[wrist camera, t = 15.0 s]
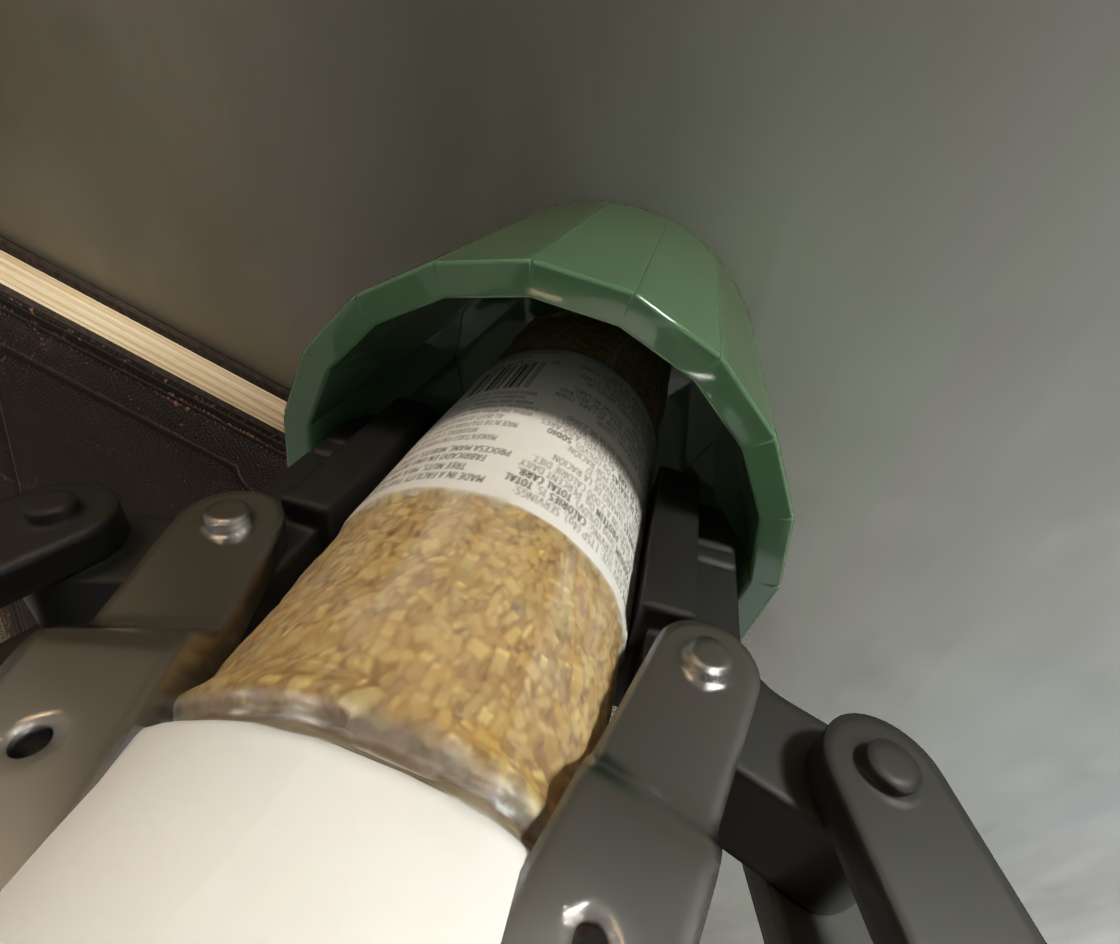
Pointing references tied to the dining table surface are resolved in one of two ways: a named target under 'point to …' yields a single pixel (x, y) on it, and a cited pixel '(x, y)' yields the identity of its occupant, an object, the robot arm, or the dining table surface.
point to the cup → (594, 291)
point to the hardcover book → (121, 402)
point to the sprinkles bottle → (392, 690)
